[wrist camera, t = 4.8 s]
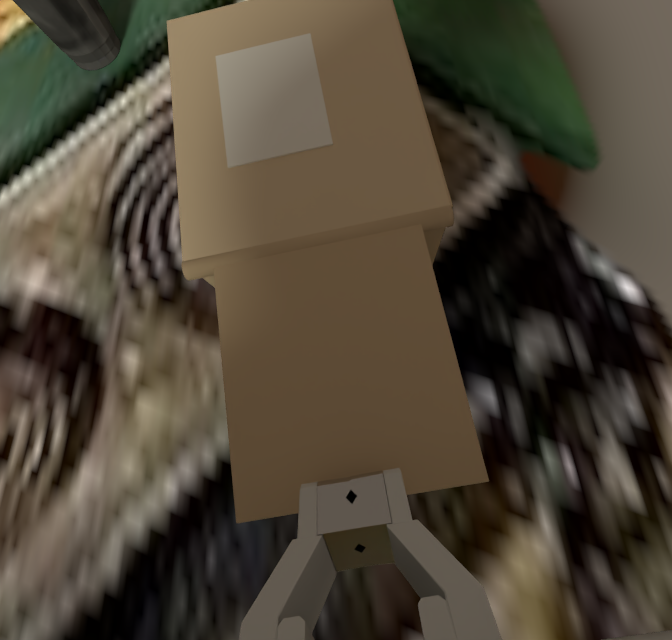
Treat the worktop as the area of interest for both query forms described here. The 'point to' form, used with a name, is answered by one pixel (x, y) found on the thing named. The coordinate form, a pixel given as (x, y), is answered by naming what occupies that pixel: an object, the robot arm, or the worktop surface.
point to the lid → (318, 247)
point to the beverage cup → (76, 29)
